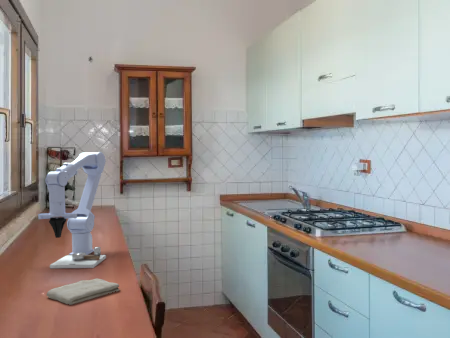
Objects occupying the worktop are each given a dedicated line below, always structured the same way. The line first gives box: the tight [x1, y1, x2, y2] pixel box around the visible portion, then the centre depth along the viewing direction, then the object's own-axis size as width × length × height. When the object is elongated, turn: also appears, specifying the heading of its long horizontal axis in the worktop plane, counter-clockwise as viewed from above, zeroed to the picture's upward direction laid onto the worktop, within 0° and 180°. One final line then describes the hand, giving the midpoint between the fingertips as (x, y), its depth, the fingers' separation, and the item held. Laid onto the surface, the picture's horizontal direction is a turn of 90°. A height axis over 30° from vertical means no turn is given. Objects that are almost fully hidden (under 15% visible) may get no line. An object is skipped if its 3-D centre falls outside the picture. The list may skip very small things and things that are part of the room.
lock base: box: [49, 254, 107, 269], centre depth 175 cm, size 16×16×1 cm
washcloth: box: [46, 278, 120, 306], centre depth 136 cm, size 12×18×3 cm, turn 142°
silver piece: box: [72, 246, 102, 260], centre depth 175 cm, size 11×5×4 cm, turn 91°
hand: (58, 237), depth 178 cm, fingers closed
